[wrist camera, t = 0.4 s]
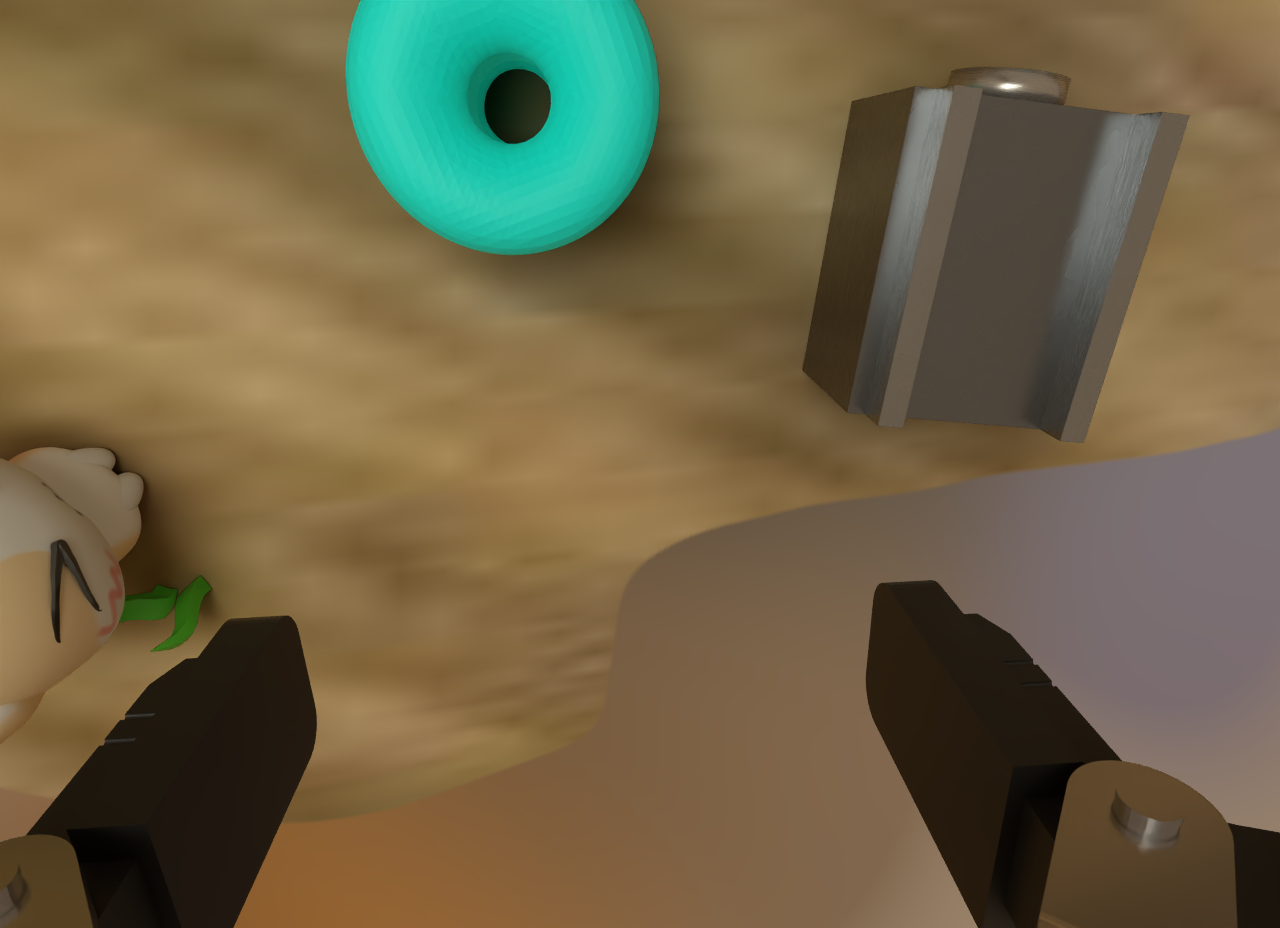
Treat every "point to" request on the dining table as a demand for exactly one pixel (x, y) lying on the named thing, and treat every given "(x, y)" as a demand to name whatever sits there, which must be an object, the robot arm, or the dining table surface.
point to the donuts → (458, 130)
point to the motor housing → (985, 251)
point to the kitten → (69, 571)
